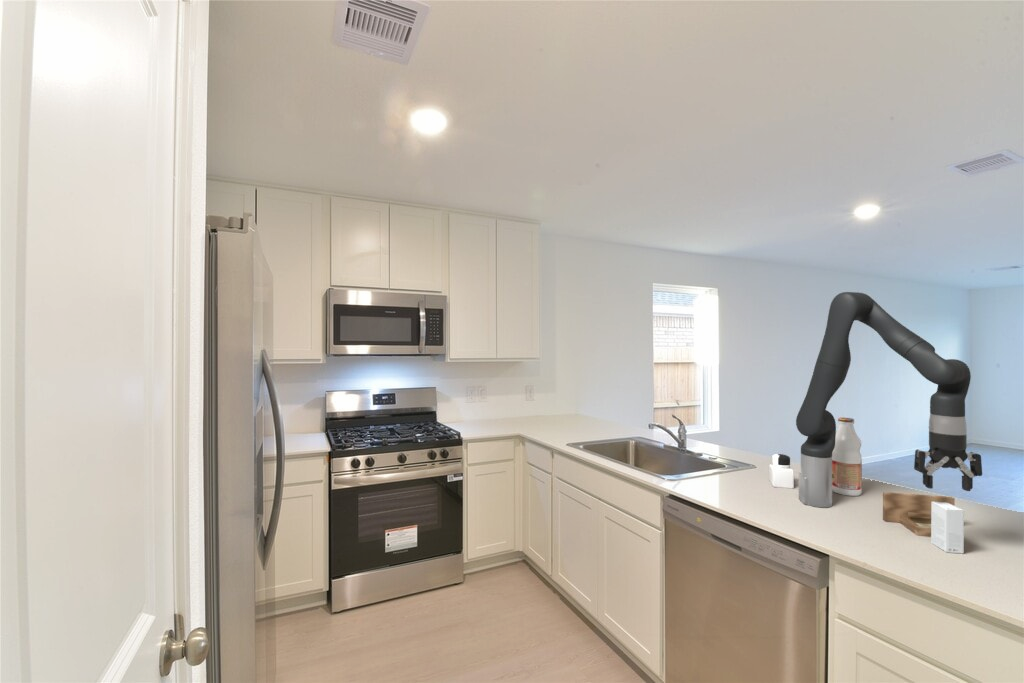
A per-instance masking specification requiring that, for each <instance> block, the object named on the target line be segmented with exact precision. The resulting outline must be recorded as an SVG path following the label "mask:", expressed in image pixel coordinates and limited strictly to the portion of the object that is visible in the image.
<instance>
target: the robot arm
mask: <svg viewBox="0 0 1024 683" xmlns="http://www.w3.org/2000/svg"><path fill="white" fill-rule="evenodd" d="M854 321H858V322H860V323H862V324H864V325H866V326H868V327H869V328H871V329H873V330H874V331H875V332H877V333H876V334H878V335H879V337H880V338H881V339H882V340H883V341H884V343H885V344H886V345H887V346H888V347H889V348H890V349H891V350H892V351H894V352H895V353H897V354H898V355H899V356H901V357H902V358H903V359H905V360H906V361H908V362H909V363H910V364H911V365H912V367H914V369H915V370H916V371H917V372H918V373H919V374H920V375H921V376H922V377H923V378H924V379H926V380H927V381H929V382H930V383H933V384H935V385H937V389H936V392H934V393H933V394H932V395H931V396H930V398H929V399H930V400H929V419H928V446H929V449H928V451H927V450H925V451H924V450H920V449H916V450H915V451H914V464H913V470H915V471H917V472H919V473H921V474H922V484H923V486H925V487H926V488H927V489H933V488H934V486H933V485H934V482H933V480H934V476H933V474H934V473H935V472H936V471H938V470H939V469H941V468H943V469H949V468H951V469H957V470H959V472H961V473H962V475H961V489H962V490H963V491H966V492H970V491H971V490H973V488H974V487H973V484H974V482H973V481H974V480H973V478H974V477H981V476H983V464H982V456H981V454H978V453H976V452H973V451H970V452H969V453H968V452H967V448H968V446H967V442H968V441H967V438H968V437H967V433H968V432H967V420H966V398H967V395H968V392H969V388H970V384H971V378H972V377H971V376H972V375H971V370H970V368H969V366H968V364H967V363H965V362H964V361H963V360H959V359H954V358H951V359H950V358H949V359H945V358H943V357H941V356H940V355H939V354H938V353H937V352H936V348H935V346H934V345H933V344H931V343H930V342H929V341H927V340H925V339H924V338H922V337H921V336H920V335H918V334H916V333H915V332H913V331H912V330H910V329H909V328H907V327H906V326H904V325H903V324H902V323H901V322H899V321H898V320H897V319H895V318H894V317H893V316H892V315H890V314H889V313H888V312H887V311H886V310H885V309H884V308H882V306H881V305H880V304H878V302H877V301H876V300H874V299H873V298H872V297H871V296H869V295H868V294H866V293H863V292H859V291H858V292H856V291H854V292H853V291H843V292H840V293H838V294H836V296H834V297H833V299H832V301H831V303H830V305H829V310H828V316H827V321H826V325H825V332H824V335H823V338H822V341H821V346H820V349H819V353H818V355H817V358H816V362H815V365H814V369H813V372H812V376H811V379H810V382H809V385H808V388H807V392H806V394H805V397H804V400H803V401H802V404H801V405H800V408H799V410H798V413H797V416H796V420H795V426H796V429H797V430H798V432H799V433H800V434H801V435H803V436H804V437H807V438H806V439H805V442H803V443H802V444H801V446H800V472H798V499H799V500H800V502H801V503H803V505H808V506H811V507H817V508H831V507H832V506H833V491H832V452H833V450H834V447H835V438H836V431H837V426H836V425H837V423H836V419H835V417H834V415H833V414H832V413H831V412H830V411H829V410H827V406H828V403H829V402H830V400H831V399H832V398H833V397H834V395H835V394H836V393H837V391H838V390H839V389H840V388H841V386H842V385H843V383H844V382H845V380H846V377H847V375H848V373H849V372H848V371H849V369H850V366H851V361H852V360H851V359H852V354H851V348H850V343H849V337H850V333H851V330H852V327H853V324H854ZM928 457H929V458H930V459H929V460H928V461H927V462H926V460H927V459H928ZM967 459H968V461H969V467H970V468H969V467H968V466H967V465H966V463H965V461H966V460H967Z"/></svg>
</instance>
